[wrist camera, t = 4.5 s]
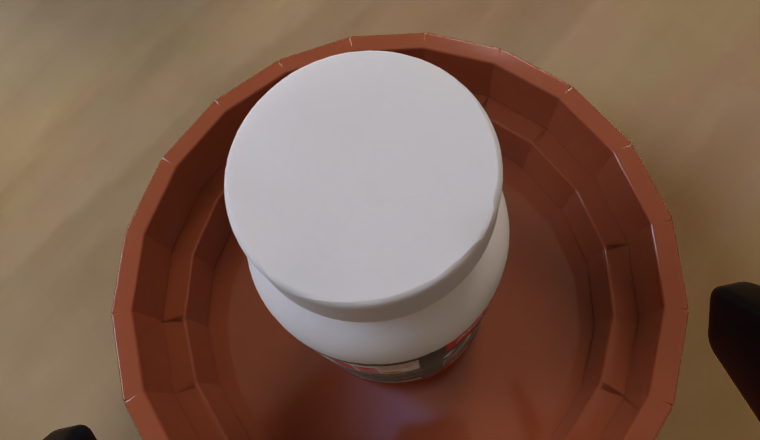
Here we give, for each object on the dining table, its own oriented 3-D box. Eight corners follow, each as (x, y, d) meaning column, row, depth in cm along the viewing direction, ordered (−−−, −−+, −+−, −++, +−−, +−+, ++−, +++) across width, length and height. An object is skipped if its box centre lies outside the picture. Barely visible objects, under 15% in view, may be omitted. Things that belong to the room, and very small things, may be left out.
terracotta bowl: (599, 93, 20) (638, 21, 17) (667, 564, 15) (744, 612, 12) (204, 109, 22) (156, 45, 18) (145, 547, 17) (63, 586, 13)
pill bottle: (481, 392, 17) (541, 362, 8) (301, 379, 18) (156, 338, 8) (482, 217, 19) (532, 24, 10) (320, 211, 20) (219, 25, 10)
